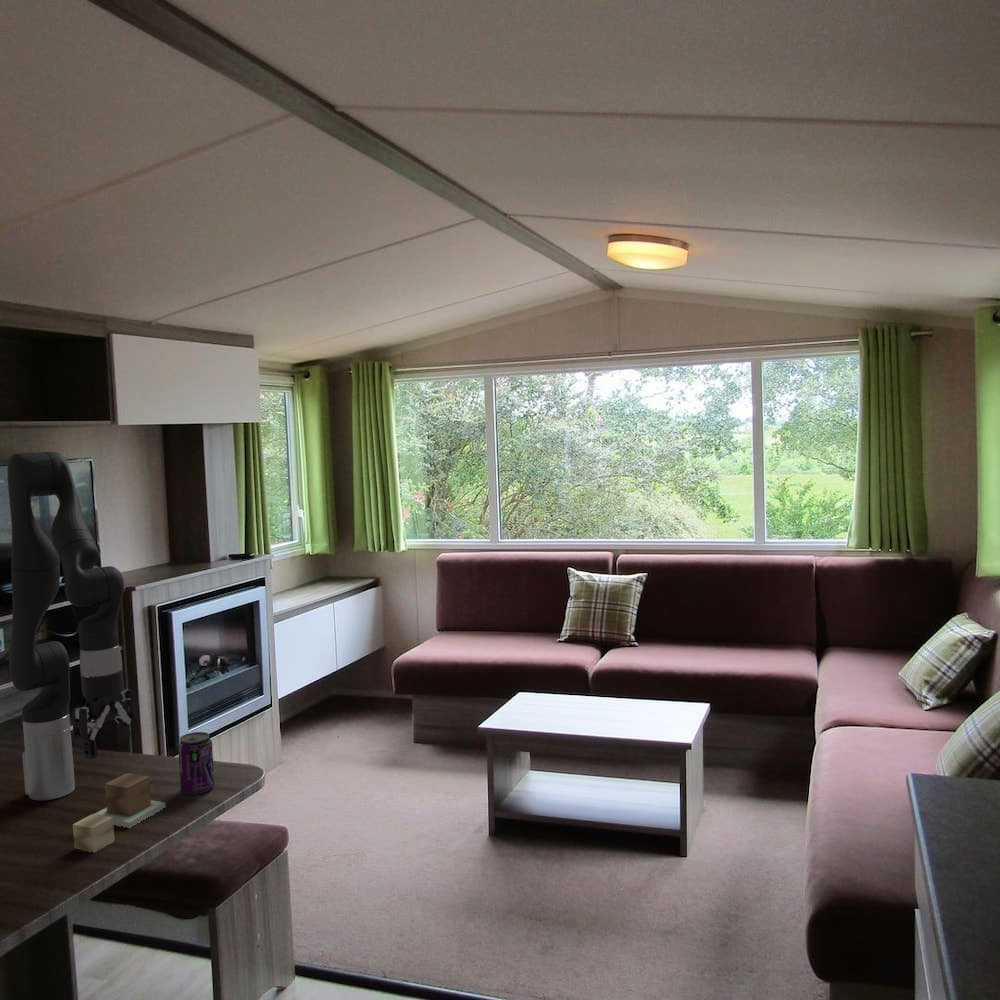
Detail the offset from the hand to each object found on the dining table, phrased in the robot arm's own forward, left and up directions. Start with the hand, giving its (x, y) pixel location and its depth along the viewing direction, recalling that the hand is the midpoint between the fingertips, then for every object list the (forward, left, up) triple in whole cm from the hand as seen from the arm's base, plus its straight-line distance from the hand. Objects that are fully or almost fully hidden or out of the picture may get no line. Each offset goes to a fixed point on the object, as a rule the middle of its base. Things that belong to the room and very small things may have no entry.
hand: (108, 750), depth 186 cm
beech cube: (+1, -6, -17) cm, 18 cm away
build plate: (-3, +7, -17) cm, 18 cm away
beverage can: (+2, +22, -17) cm, 28 cm away
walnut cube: (-3, +7, -15) cm, 17 cm away
